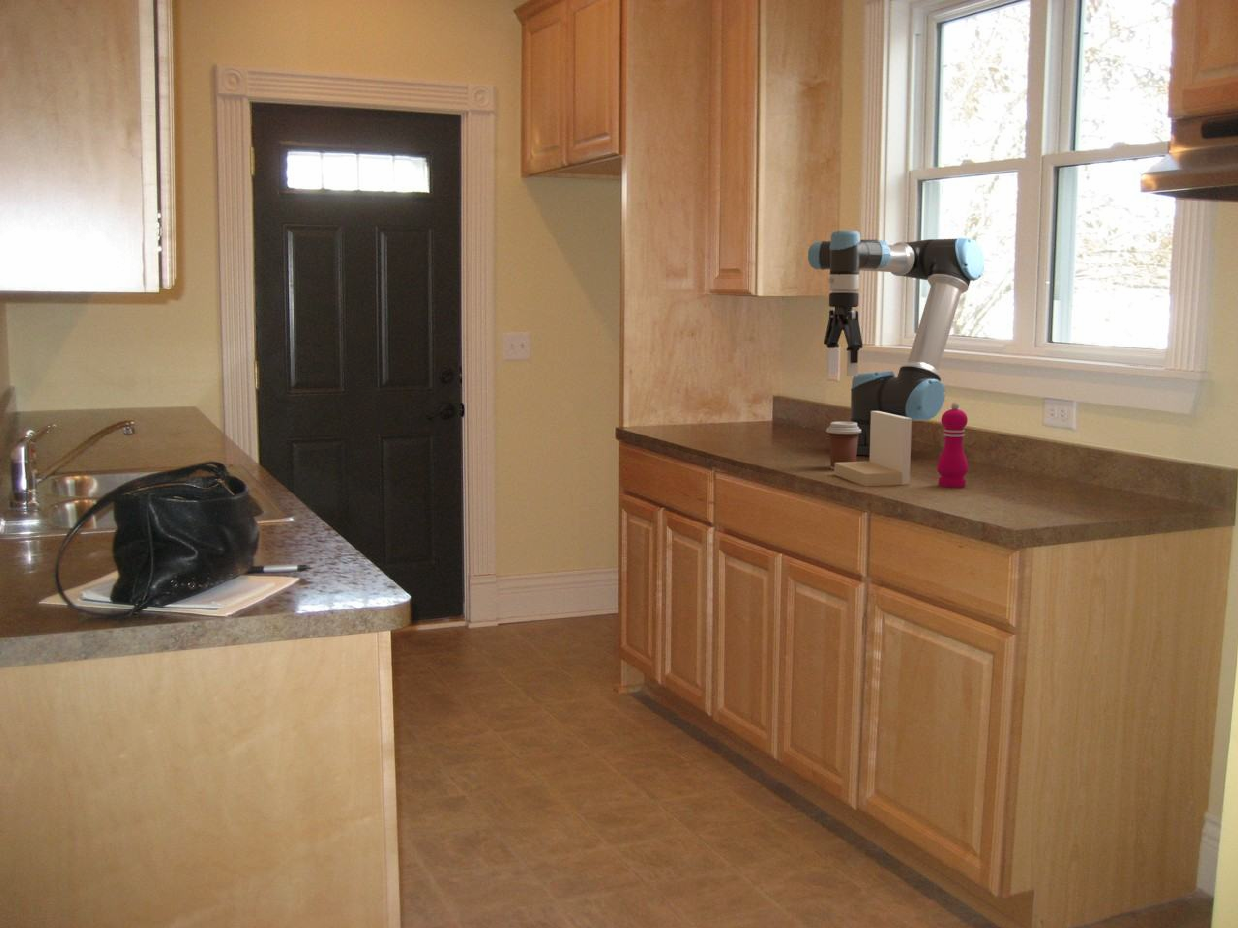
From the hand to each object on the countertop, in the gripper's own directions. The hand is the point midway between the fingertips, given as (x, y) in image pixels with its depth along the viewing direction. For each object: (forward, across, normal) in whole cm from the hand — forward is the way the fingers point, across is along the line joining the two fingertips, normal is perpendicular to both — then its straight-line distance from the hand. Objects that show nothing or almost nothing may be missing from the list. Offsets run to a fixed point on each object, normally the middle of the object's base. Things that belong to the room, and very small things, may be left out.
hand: (841, 374), depth 320 cm
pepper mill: (+25, +33, +15) cm, 44 cm away
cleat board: (+25, +20, 0) cm, 32 cm away
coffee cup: (+25, 0, +1) cm, 25 cm away
